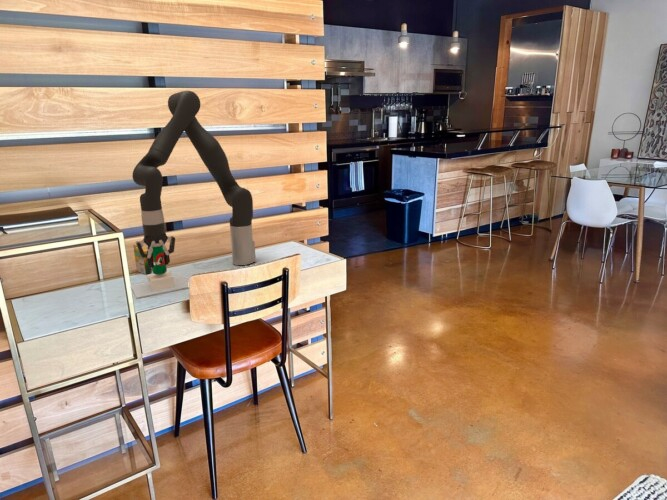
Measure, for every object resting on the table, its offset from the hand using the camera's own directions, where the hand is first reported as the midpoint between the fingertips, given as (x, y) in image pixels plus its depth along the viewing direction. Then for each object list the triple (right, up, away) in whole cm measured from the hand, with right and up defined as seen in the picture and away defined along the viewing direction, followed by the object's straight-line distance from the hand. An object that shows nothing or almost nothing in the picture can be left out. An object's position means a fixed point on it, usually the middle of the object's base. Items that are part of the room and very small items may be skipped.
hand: (159, 265), depth 173 cm
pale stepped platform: (0, -8, +2) cm, 9 cm away
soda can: (0, -3, +1) cm, 3 cm away
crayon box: (-13, -4, +19) cm, 24 cm away
